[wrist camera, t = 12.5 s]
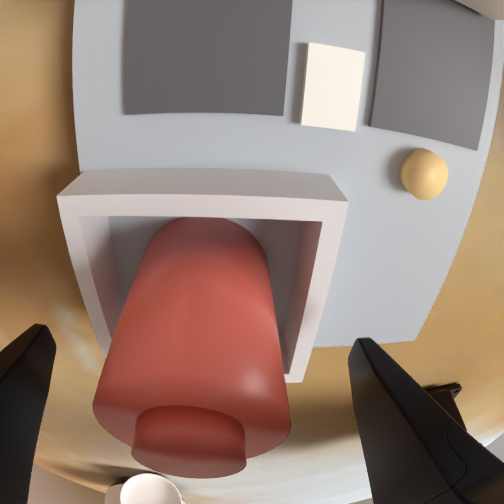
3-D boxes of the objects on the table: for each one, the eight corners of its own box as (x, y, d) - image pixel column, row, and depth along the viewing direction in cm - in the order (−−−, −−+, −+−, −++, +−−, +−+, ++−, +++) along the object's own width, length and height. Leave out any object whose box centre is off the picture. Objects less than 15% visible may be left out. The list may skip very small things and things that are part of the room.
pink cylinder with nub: (273, 216, 10) (316, 415, 5) (262, 317, 13) (280, 487, 7) (135, 214, 10) (50, 398, 4) (151, 315, 12) (118, 478, 7)
